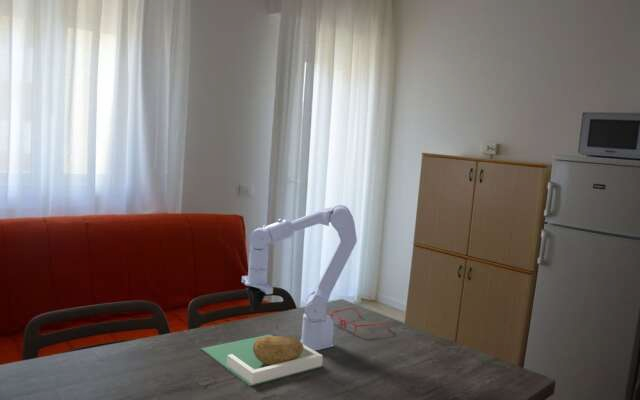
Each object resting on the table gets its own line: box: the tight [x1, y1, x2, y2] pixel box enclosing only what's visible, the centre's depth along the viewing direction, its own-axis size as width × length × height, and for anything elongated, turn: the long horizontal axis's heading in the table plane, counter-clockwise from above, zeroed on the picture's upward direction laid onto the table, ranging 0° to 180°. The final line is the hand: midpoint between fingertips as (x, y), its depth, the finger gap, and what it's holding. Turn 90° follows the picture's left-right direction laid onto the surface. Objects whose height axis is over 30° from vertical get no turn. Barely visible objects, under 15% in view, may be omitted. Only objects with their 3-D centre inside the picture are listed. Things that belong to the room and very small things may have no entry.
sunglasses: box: [329, 307, 390, 336], centre depth 184 cm, size 17×16×5 cm
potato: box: [253, 335, 304, 366], centre depth 146 cm, size 10×14×8 cm
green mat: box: [200, 334, 324, 387], centre depth 151 cm, size 24×26×1 cm
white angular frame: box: [227, 345, 324, 384], centre depth 146 cm, size 23×13×3 cm, turn 130°
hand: (255, 310), depth 163 cm, fingers closed
